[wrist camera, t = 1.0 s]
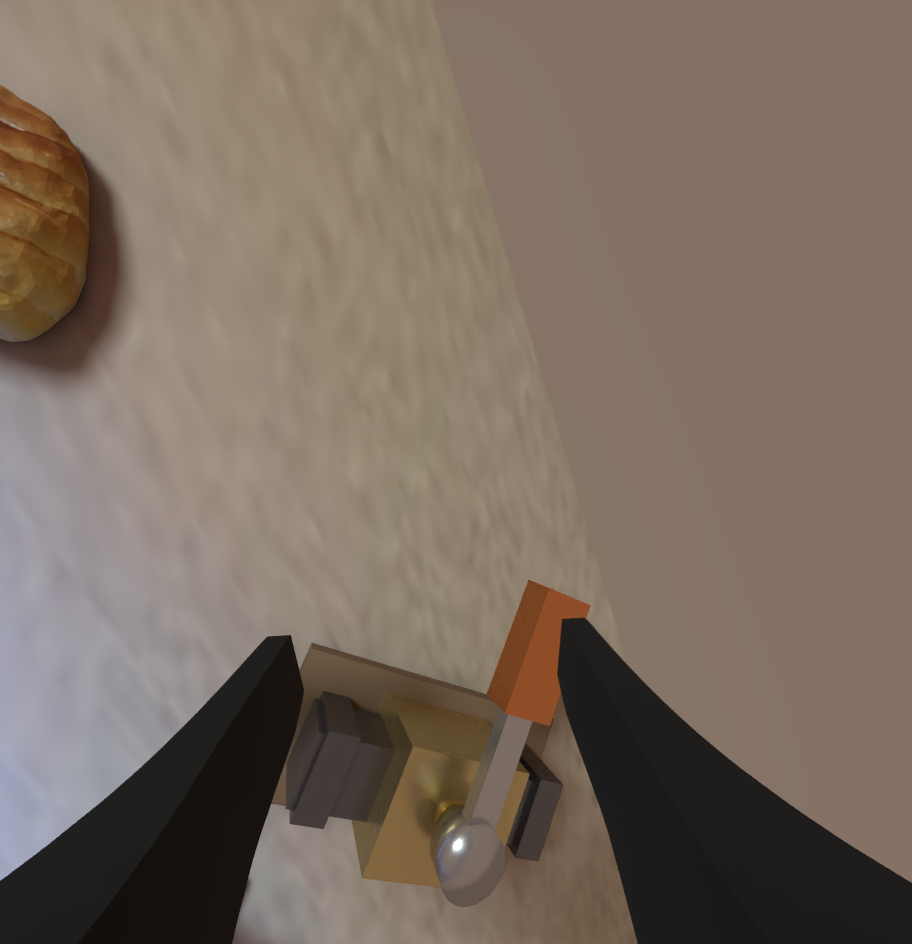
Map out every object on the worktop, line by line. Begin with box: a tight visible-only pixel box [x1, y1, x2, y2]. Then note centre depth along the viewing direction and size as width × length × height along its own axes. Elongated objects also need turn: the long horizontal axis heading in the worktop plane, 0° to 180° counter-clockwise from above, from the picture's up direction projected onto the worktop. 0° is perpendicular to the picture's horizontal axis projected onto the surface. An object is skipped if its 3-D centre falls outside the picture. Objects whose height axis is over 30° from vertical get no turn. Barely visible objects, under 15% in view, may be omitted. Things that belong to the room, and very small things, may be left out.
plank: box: [271, 643, 553, 806], centre depth 23 cm, size 7×15×1 cm, turn 66°
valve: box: [286, 691, 563, 887], centre depth 20 cm, size 5×13×5 cm, turn 66°
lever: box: [430, 580, 590, 907], centre depth 17 cm, size 12×3×2 cm, turn 156°
